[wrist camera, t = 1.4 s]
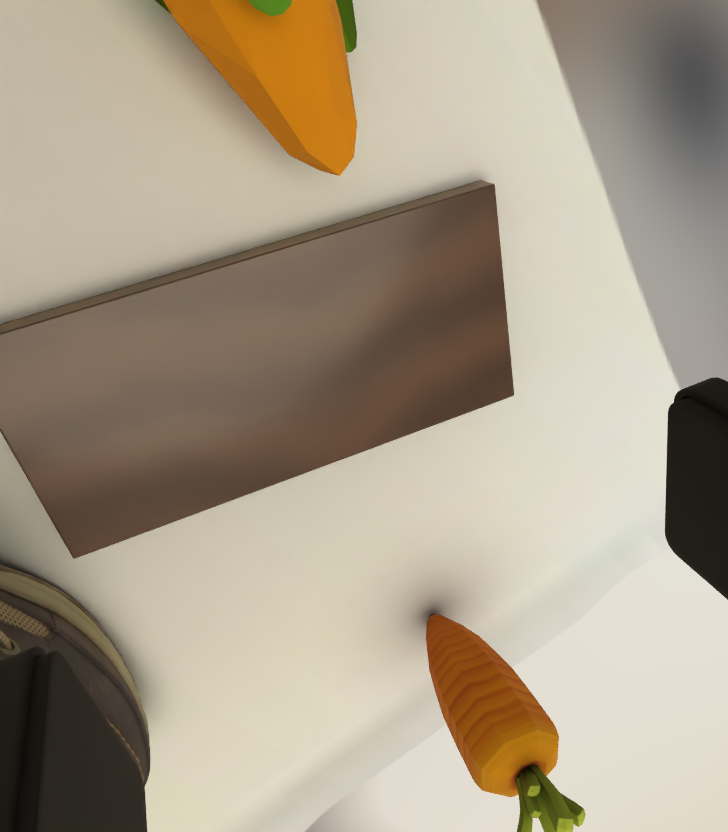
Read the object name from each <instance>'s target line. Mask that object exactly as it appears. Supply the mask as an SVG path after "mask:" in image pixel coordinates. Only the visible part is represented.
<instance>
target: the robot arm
mask: <svg viewBox="0 0 728 832" xmlns="http://www.w3.org/2000/svg"><path fill="white" fill-rule="evenodd" d="M665 536H666V539H667V542H668V544H669V546H670V547H671V549H672V550H673V552H674V553H675V554H676V555H677V556H678V557H679V558H681V559H682V560H683V561H684V562H685V563H686V564H687V565H689V566H690V567H691V568H692V569H693V570H694V571H696V572H697V573H698V574H699V575H700V576H701V577H703V578H704V579H705V580H706V581H707V582H708V583H709V584H711V585H712V586H713V587H714V588H715V589H716V590H717V591H719V592H720V593H721V594H722V595H723V596H724V597H725V598H727V599H728V382H727V381H725V380H723V379H720V378H710V379H707V380H705V381H702V382H700V383H697V384H695V385H692V386H690V387H687V388H685V389H682V390H680V391H679V392H678V393H677V394H676V396H675V399H674V403H673V404H671V406H670V407H669V411H668V437H667V475H666V513H665ZM0 832H147V821H146V803H145V789H144V783H143V779H142V776H141V773H140V770H139V768H138V766H137V764H136V762H135V761H134V759H133V758H132V756H131V755H130V753H129V752H128V751H127V749H126V748H125V746H124V745H123V743H122V742H121V740H120V739H119V737H118V736H117V734H116V733H115V731H114V730H113V728H112V727H111V725H110V724H109V723H108V721H107V720H106V718H105V717H104V715H103V714H102V712H101V711H100V709H99V708H98V706H97V705H96V703H95V702H94V700H93V699H92V697H91V696H90V695H89V693H88V692H87V690H86V689H85V687H84V686H83V684H82V683H81V681H80V680H79V678H78V677H77V675H76V674H75V672H74V671H73V670H72V668H71V667H70V665H69V664H68V662H67V661H66V659H65V658H64V656H63V655H62V654H61V653H60V652H59V651H53V652H50V653H48V654H47V653H46V652H45V651H44V650H43V649H42V648H40V647H38V646H37V647H33V648H30V649H28V650H25V651H23V652H20V653H17V654H15V655H12V656H10V657H7V658H5V659H2V660H0Z"/></svg>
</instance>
